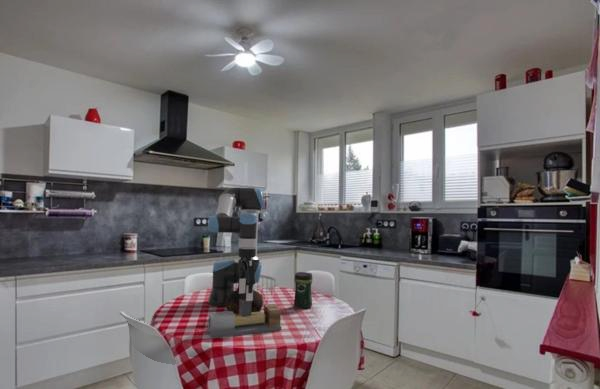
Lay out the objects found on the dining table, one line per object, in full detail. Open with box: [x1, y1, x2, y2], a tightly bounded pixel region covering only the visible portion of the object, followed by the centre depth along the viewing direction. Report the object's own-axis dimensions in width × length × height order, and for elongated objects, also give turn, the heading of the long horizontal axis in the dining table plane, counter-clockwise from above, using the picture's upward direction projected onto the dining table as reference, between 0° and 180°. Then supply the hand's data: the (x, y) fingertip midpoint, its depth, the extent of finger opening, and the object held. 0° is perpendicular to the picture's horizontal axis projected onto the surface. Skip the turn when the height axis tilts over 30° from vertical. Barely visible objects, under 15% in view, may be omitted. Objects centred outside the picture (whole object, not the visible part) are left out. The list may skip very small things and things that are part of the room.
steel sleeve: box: [207, 310, 235, 332], centre depth 145 cm, size 6×10×6 cm, turn 113°
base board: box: [206, 322, 282, 339], centre depth 148 cm, size 12×30×2 cm, turn 113°
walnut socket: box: [263, 303, 282, 327], centre depth 153 cm, size 9×5×7 cm, turn 23°
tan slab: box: [235, 299, 265, 326], centre depth 148 cm, size 6×21×10 cm, turn 113°
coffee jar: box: [293, 271, 313, 309], centre depth 185 cm, size 10×8×19 cm
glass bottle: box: [225, 259, 264, 314], centre depth 167 cm, size 18×18×28 cm
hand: (245, 296), depth 149 cm, fingers open, 13 cm apart
